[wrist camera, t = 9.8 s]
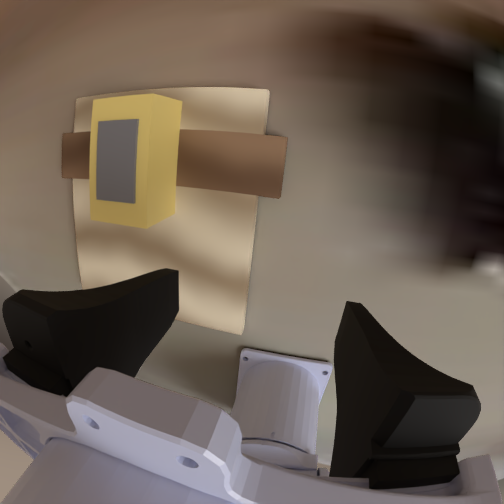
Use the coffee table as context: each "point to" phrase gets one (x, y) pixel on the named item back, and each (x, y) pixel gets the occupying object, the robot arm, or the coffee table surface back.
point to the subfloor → (189, 203)
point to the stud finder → (134, 159)
